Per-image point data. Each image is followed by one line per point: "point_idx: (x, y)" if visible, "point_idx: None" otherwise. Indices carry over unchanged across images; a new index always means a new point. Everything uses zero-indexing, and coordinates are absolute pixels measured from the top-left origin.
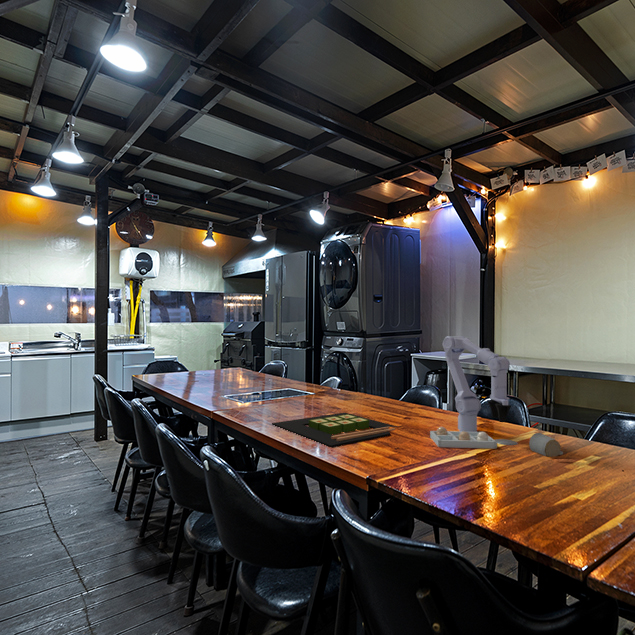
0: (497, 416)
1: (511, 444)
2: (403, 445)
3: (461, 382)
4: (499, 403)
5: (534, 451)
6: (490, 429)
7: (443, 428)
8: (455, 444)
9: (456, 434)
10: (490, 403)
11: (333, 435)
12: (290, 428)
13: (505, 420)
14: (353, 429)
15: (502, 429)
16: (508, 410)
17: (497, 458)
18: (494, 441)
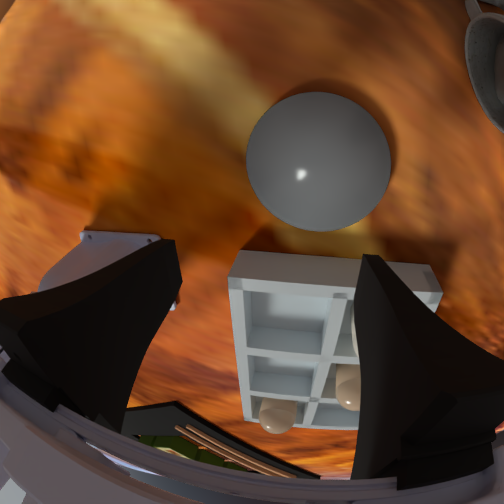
0: (168, 253)
1: (374, 154)
2: (315, 438)
3: (6, 473)
4: (64, 338)
5: (501, 113)
6: (39, 145)
7: (285, 429)
8: None
9: (250, 367)
10: (118, 411)
11: (260, 473)
12: None
13: (386, 265)
14: (206, 453)
15: (30, 94)
16: (467, 348)
17: (494, 298)
18: (435, 301)
